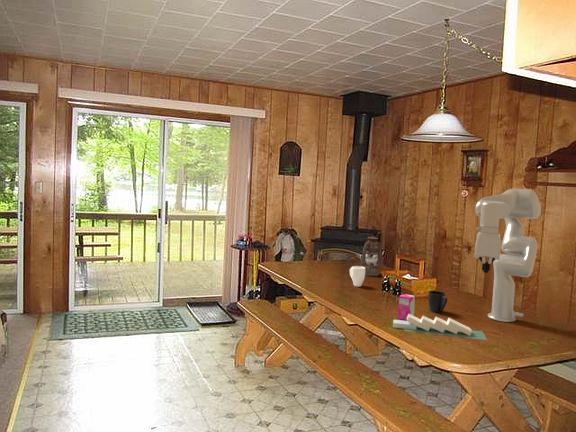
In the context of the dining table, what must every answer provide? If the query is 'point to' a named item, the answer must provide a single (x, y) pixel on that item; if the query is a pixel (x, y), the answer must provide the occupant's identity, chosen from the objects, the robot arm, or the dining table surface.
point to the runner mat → (450, 333)
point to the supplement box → (406, 306)
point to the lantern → (372, 250)
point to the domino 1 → (403, 324)
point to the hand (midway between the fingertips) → (485, 272)
